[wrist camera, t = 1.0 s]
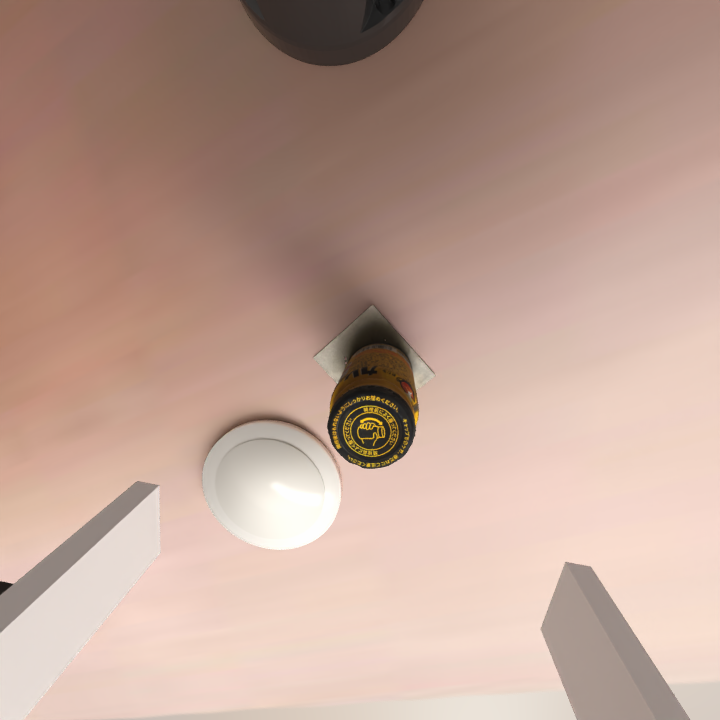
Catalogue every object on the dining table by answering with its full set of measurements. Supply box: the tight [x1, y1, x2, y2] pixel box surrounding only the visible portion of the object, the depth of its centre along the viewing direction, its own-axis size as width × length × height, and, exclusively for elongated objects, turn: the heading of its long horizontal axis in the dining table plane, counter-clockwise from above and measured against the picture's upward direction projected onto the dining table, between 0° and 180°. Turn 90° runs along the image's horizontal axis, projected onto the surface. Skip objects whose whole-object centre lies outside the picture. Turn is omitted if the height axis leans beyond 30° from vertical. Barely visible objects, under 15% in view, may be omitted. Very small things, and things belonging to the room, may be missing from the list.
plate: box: [202, 420, 342, 550], centre depth 35 cm, size 14×14×1 cm
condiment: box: [314, 305, 436, 469], centre depth 26 cm, size 7×8×12 cm
